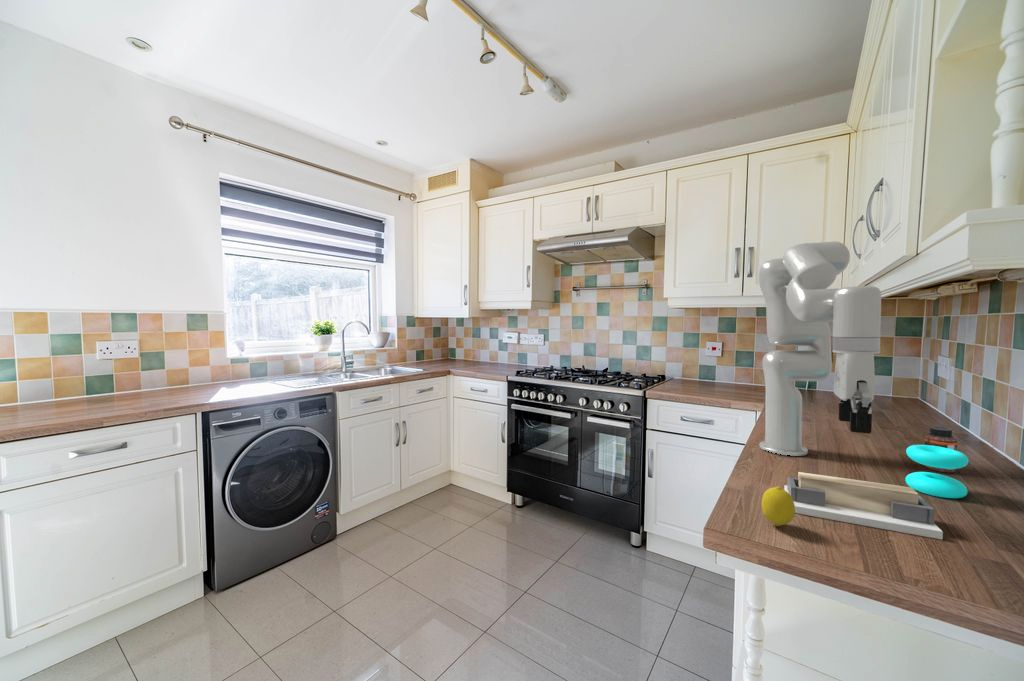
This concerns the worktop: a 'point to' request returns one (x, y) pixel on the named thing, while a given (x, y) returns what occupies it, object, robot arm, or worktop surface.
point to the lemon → (778, 506)
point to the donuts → (933, 481)
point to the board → (868, 519)
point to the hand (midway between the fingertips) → (853, 426)
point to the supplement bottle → (941, 443)
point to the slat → (858, 492)
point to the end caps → (898, 509)
